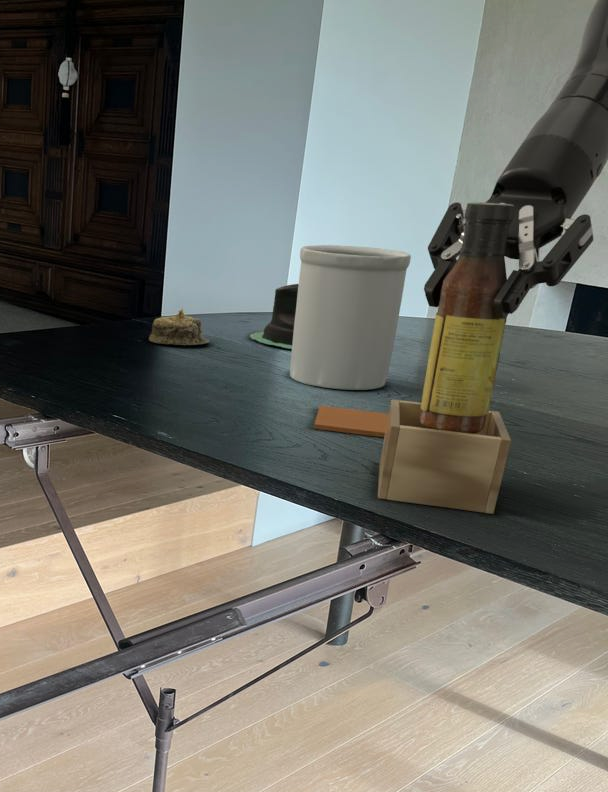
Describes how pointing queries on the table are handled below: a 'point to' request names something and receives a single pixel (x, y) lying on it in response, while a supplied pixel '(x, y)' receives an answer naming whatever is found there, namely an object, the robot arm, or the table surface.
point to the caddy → (441, 462)
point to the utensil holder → (347, 315)
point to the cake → (177, 330)
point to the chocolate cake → (281, 319)
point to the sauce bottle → (468, 326)
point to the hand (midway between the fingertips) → (463, 305)
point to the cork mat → (351, 421)
